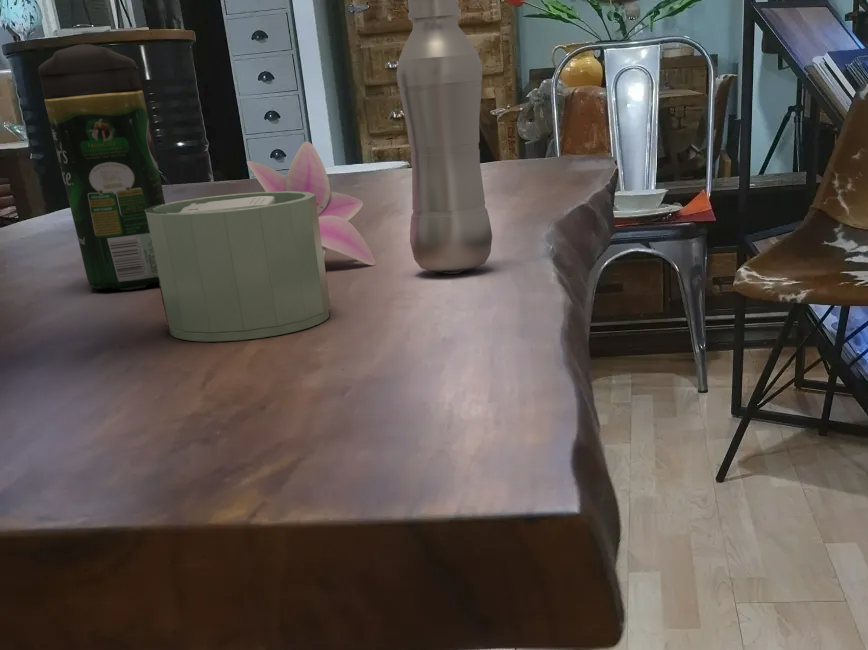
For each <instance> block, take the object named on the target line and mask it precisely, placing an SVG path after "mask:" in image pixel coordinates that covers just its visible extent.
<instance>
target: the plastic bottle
mask: <svg viewBox="0 0 868 650" xmlns="http://www.w3.org/2000/svg"><path fill="white" fill-rule="evenodd" d="M407 6H408V12H407V19H408V20H411V21H412V30H411V32H410V34H409V35H408V38H407V40H406V41H405V44H404V45H403V48H402V50H401V53H400V56H399V58H398V61H397V67H396V73H395V74H396V82H397V87H398V89H399V97H400V101H401V107H402V111H403V115H404V120H405V125H406V132H407V139H408V147H409V149H410V162H411V175H412V176H411V191H412V192H411V194H412V196H411V199H412V200H411V203H412V213H411V217H410V227H409V228H410V229H409V244H410V247H411V251H412V255H413V259H414V261H415V263H416V264H417V265H418V266H419V268H420V269H422V270H424V271H425V270H426V271H432V272H437V273H443V274H448V275H449V274H460V273H462V272H466V271H468V270H472V269H475V268H477V267H481V266H483V265H485V264H486V262H487V261H488V259H489V257H490V255H491V253H492V242H493V231H492V226H491V221H490V215H489V211H488V209H487V208H486V200H485V192H484V185H483V176H482V170H481V169H482V168H481V155H480V153H481V150H480V147H479V146H480V145H479V143H480V141H481V139H480V137H481V136H480V118H481V117H480V116H481V104H482V90H483V89H482V87H483V85H482V81H483V65H482V61H481V58H480V55H479V53H478V52H477V49H476V48H475V46H474V45H473V43H472V42H471V41H470V39H469V37H468V36H467V35H466V34H465V32H464V31H463V30H462V29H461V27H460V26H459V23H458V17H460V16H461V8H460V6H459V0H407Z"/></svg>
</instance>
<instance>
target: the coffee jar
mask: <svg viewBox="0 0 868 650" xmlns="http://www.w3.org/2000/svg"><path fill="white" fill-rule="evenodd" d="M37 71H38V76H39V80H40V85H41V89H42V94H43V95H42V96H43V98H44V104H45V109H46V113H47V117H48V121H49V125H50V129H51V134H52V137H53V143H54V145H55V150H56V154H57V159H58V162H59V167H60V171H61V175H62V180H63V183H64V187H65V188H64V189H65V191H66V195H67V200H68V203H69V207H70V212H71V215H72V220H73V224H74V228H75V232H76V236H77V237H76V238H77V241H78V244H79V249H80V254H81V258H82V262H83V267H84V270H85V274H86V275H85V276H86V279H87V281H88V283H89V285H90V286H91V287H92V288H94V289H95V290H108V289H109V290H110V289H116V290H120V291H130V290H131V291H132V290H138V289H144V288H147V286H148V285H152V284H156V283H158V284H159V281H158V276H157V271H156V266H155V261H154V256H153V251H152V246H151V241H150V236H149V231H148V226H147V221H146V217H145V212H144V210H145V209H148V208H150V207H153V206H156V205H161V204H166V201H165V196H164V191H163V185H162V179H161V175H160V170H159V169H160V168H159V164H158V158H157V154H156V150H155V145H154V139H153V136H152V129H151V124H150V119H149V116H148V115H149V114H148V110H147V106H146V105H147V104H146V101H145V95H144V91H143V90H142V89H143V86H142V82H141V78H140V74H139V66H138V65H137V63H136V61H135V60H134V59H133V58H130V57H128V56H126V55H124V54H120V53H117V52H116V51H115V50H113V49H112V48H107V47H105V46H99V45H93V44H90V43H87V44H85V43H82V44H76V45H72V46H69V47H65V48H62V49H59V50H56V51H54V52H53V54H52V56H51V57H49V59H47V60H45V61H44V62H43V63H41V64H40V65H39V66H38V69H37Z"/></svg>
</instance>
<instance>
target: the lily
mask: <svg viewBox="0 0 868 650" xmlns="http://www.w3.org/2000/svg"><path fill="white" fill-rule="evenodd" d="M246 164H247V166H248V168H249V170H250V171H251V173H252V174H253V175H254V177H255V178H256V180H257V181H258V182H259V184H260V185H261V187H262V189H263V190H264V192H273V191H301V192H310V193H312V194H315V196H316V204H317V211H318V219H319V226H320V234H321V241H322V249H323V256H324V257H325V254H326V250H327V249H329V250H331V251H334V252H337V253H339V254H342V255H345V256H347V257H349V258H351V259H354V260H357V261H359V262H361V263H364V264H366V265H369V266H376V260H375V257H374V255H373V253H372V251H371V249H370V247H369V246H368V244H367V243H366V240H364V238H363V236H362V235H361V234H360V232H359V231H358V230H357V228H356V226H355V225H353V224H351V222H350V221H349V220H351V219H352V218H353V217H354V216H355V215H356V214H357V213H358V212H360V210H361V209H362V208H363V206H364V202H363V201H362V200H361V199H359V198H357V197H355V196H352V195H349V194H345V193H341V192H336V191H331V186H330V185H331V184H330V180H329V176H328V173H327V170H326V168H325V165H324V162H323V161H322V159H321V157H320V155H319V153H318V152H317V150H316V148H315V146H314V144H312V143H311V142H310V141H308V140H307V141H304V142H303V143H302V144H301V145H300V147H299V149H298V150H297V152H296V153H295V156H294V158H293V160H292V162H291V163H290V166H289V169H288V171H287V174H286V175H284V174H283V173H282V172H279V171H278V170H275V169H274V168H271V167H270V166H267V165H264V164H262V163H259V162H256V161H253V160H246Z"/></svg>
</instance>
